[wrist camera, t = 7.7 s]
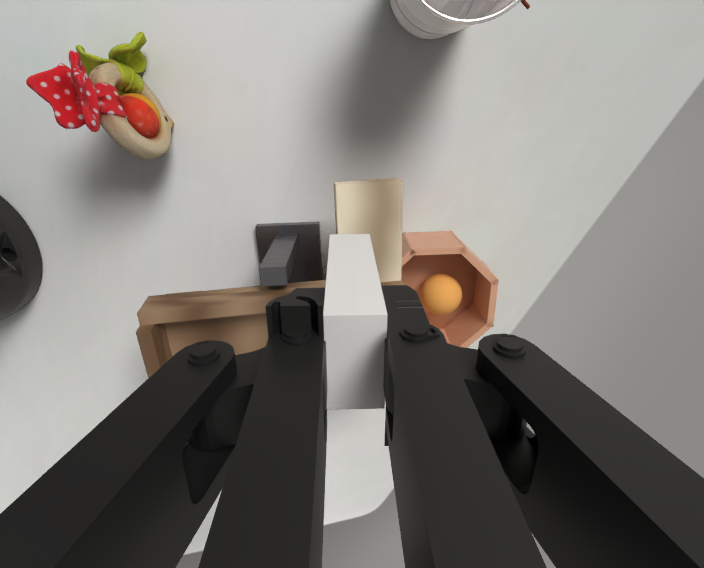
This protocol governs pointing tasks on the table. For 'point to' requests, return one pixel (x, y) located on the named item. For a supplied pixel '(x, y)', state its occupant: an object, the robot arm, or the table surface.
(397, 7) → the white ridged hollow cylinder
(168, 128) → the bird rattle
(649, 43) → the table surface
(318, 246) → the lever stand
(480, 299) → the terracotta octagonal bowl
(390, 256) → the lever
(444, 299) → the ball
